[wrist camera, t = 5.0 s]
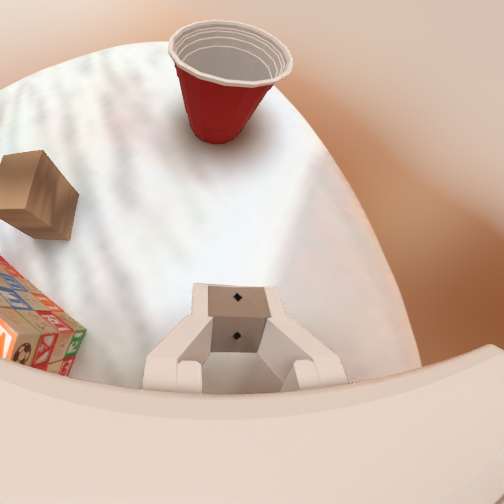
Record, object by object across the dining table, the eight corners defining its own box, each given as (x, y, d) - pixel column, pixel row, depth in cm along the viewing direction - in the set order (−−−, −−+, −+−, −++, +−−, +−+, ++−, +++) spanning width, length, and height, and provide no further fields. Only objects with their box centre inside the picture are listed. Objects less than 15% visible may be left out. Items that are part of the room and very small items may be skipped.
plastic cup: (277, 153, 30) (318, 79, 18) (182, 174, 27) (180, 91, 15) (246, 88, 31) (268, 15, 20) (163, 102, 28) (160, 23, 17)
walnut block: (70, 240, 23) (24, 208, 14) (34, 238, 22) (-14, 209, 13) (78, 194, 24) (43, 149, 16) (43, 195, 23) (3, 155, 15)
